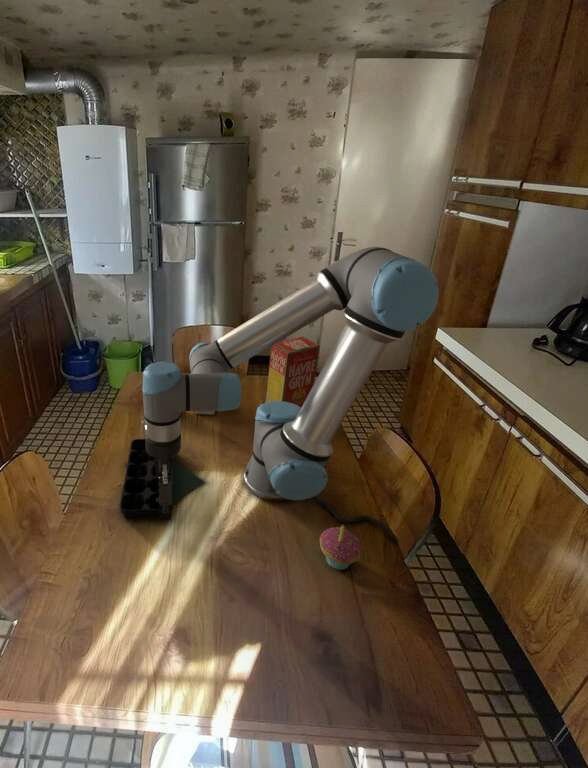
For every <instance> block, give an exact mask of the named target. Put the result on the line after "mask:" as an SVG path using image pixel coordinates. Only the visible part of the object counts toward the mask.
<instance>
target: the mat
mask: <svg viewBox="0 0 588 768" xmlns="http://www.w3.org/2000/svg"><path fill="white" fill-rule="evenodd" d="M205 483H206V482H205V481H204V480H203V479H201V478H199V477H198V476H197V475H195V474H194V473H193V472H192V471H190V470H189V469H187V468H186V467H184V466H183V465H181V464H180V463H179V462H177V461H176V460H174V494H173V504H175V503H176V502H178V501H179V500H181V499H182V498H183V497H185V496H187V495H188V494H190V493H191V492H193V491H194V490H196V489H198V488H199V487H200V486H202V485H204V484H205Z"/></svg>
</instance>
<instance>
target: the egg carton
mask: <svg viewBox="0 0 588 768" xmlns="http://www.w3.org/2000/svg"><path fill="white" fill-rule="evenodd" d="M174 461H175V456H173V468H172V477H171V479H172V482H171V489H172V488H173V493H171V500H172V503H171V512H172V511H173V509H174V503H173V494H174ZM158 482H159V481H158V478H157V476H156V469H155V458H154V457H152V456H150V455H149V454H148V453H147V451H146V444H145V438H136V439H133V440H131V442H130V448H129V453H128V459H127V464H126V469H125V474H124V479H123V486H122V490H121V491H122V492H121V497H120V502H119V511H120V513H121V514H122V517H123V519H125V520H129V521H131V520H139V519H141V518H143V517H144V515H149V517H150V519H152V520H159V502H156V497H159V492H158V490H159V485H158Z"/></svg>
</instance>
